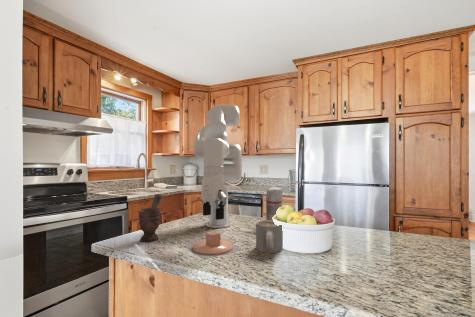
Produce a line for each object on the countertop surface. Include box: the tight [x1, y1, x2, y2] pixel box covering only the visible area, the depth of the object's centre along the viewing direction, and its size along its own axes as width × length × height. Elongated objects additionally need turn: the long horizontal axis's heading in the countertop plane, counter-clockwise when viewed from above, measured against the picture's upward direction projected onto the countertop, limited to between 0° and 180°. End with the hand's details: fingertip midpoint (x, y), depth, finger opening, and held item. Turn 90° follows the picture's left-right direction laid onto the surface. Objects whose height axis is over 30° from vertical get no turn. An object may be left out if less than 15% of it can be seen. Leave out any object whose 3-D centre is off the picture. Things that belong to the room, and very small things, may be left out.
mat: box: [184, 238, 243, 260], centre depth 98 cm, size 16×16×1 cm
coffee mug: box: [255, 219, 284, 254], centre depth 96 cm, size 13×10×10 cm
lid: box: [192, 230, 234, 255], centre depth 98 cm, size 15×15×6 cm
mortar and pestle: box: [138, 193, 163, 244], centre depth 107 cm, size 12×9×20 cm
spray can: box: [265, 186, 283, 220], centre depth 132 cm, size 8×8×20 cm
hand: (213, 217), depth 97 cm, fingers open, 9 cm apart
